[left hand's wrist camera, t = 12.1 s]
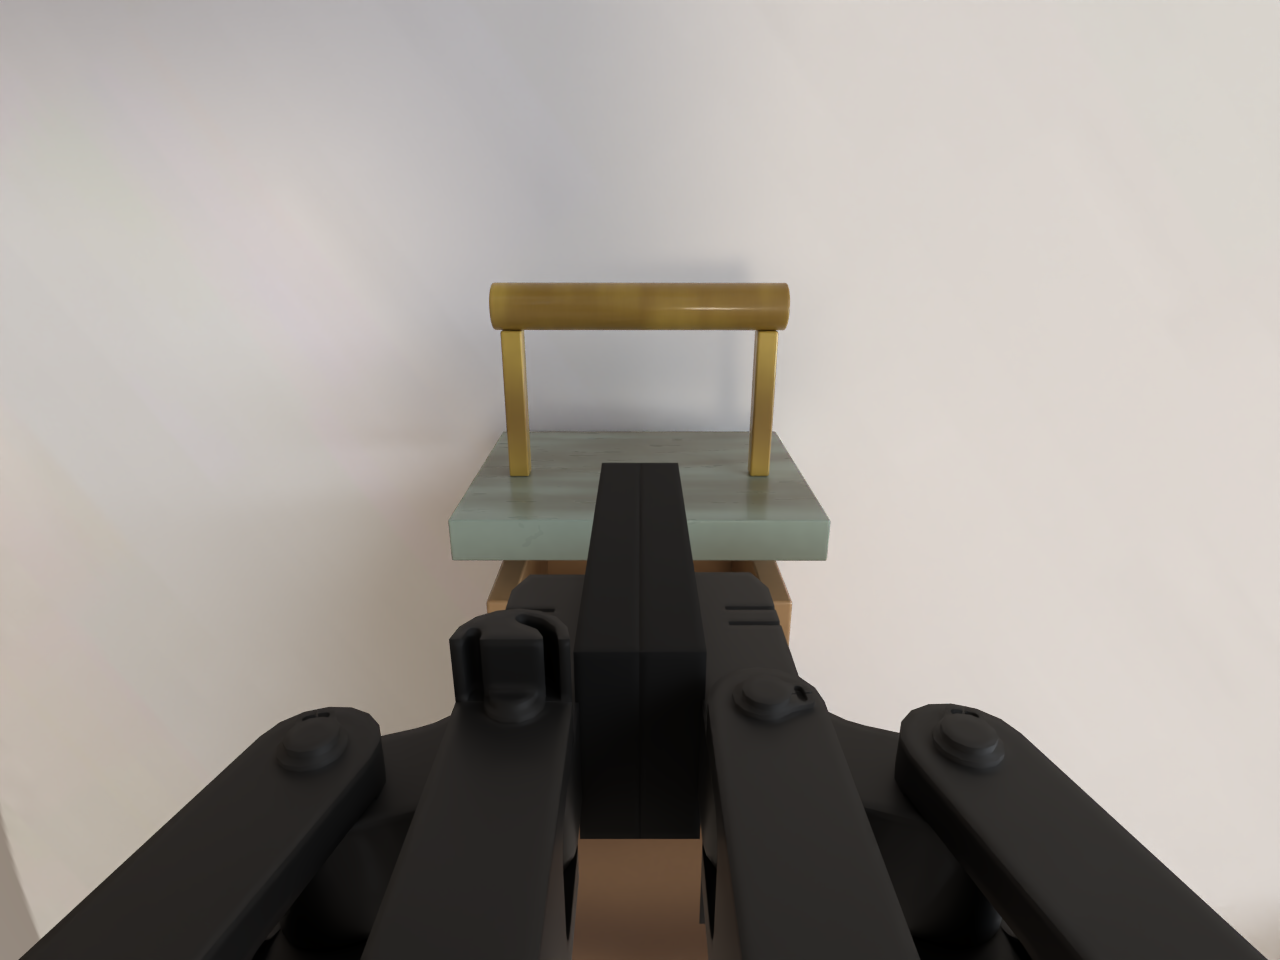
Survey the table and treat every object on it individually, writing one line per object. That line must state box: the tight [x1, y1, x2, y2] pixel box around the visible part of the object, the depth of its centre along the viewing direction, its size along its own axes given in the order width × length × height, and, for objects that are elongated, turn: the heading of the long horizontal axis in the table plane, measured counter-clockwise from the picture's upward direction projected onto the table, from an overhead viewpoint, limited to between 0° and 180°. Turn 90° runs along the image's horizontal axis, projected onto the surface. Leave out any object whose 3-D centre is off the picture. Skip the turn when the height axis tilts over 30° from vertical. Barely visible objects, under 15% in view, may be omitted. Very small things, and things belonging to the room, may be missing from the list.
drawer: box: [448, 283, 830, 647], centre depth 26 cm, size 25×10×8 cm, turn 0°
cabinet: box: [572, 823, 708, 960], centre depth 30 cm, size 20×11×10 cm, turn 0°
